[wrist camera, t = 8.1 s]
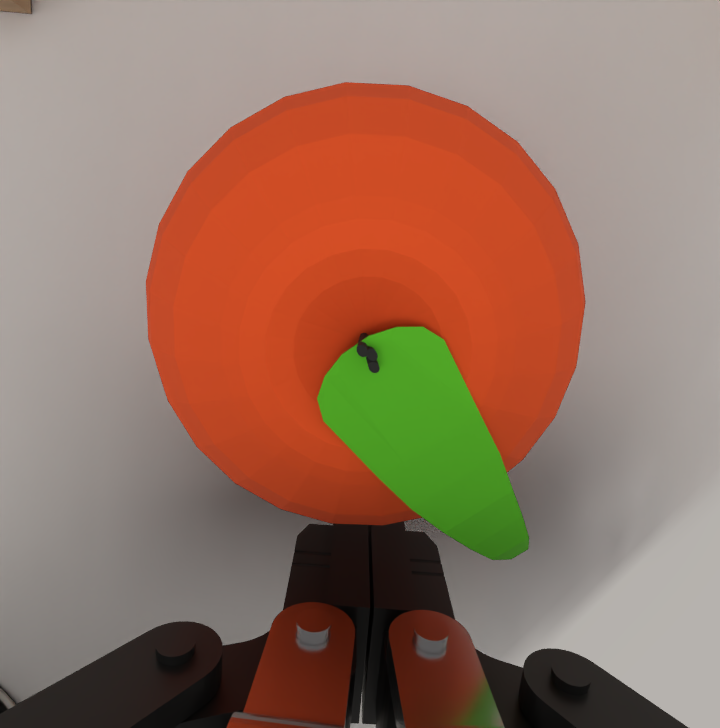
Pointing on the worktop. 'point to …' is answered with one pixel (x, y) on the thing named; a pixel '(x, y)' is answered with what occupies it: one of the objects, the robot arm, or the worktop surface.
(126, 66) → the worktop surface
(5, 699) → the figurine
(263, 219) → the clementine
